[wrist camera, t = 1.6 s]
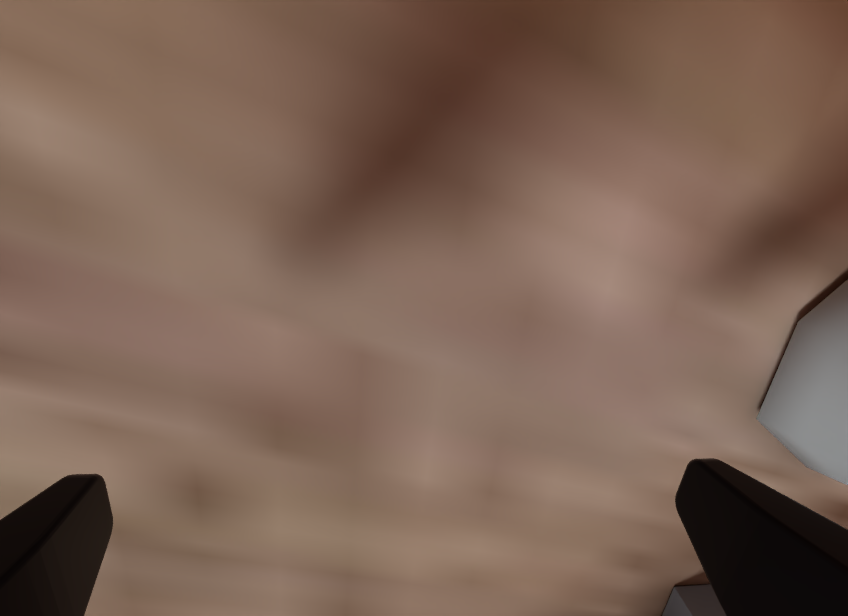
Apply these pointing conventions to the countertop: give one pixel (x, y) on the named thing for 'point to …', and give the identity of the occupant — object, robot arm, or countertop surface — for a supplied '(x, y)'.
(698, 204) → the countertop surface
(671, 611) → the button housing
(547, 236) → the countertop surface
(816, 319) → the flask
